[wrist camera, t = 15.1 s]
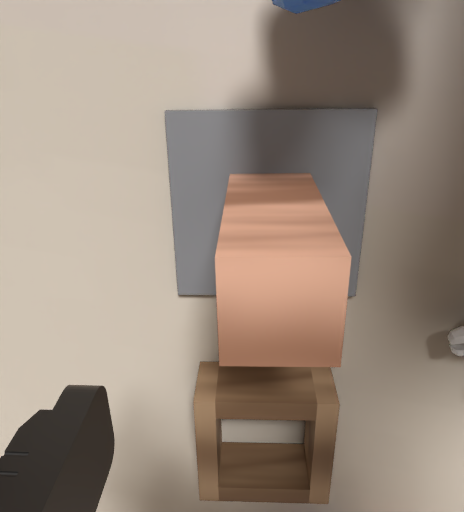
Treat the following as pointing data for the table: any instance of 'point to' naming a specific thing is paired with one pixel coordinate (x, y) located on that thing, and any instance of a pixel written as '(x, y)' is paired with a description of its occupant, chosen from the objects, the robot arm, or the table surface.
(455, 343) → the robot toy
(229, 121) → the mat
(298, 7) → the blue knobby rounded piece
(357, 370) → the table surface
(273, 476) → the holder
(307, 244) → the terracotta block
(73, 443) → the robot arm
